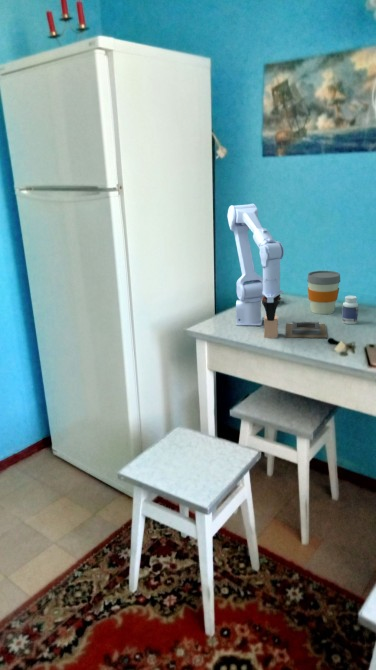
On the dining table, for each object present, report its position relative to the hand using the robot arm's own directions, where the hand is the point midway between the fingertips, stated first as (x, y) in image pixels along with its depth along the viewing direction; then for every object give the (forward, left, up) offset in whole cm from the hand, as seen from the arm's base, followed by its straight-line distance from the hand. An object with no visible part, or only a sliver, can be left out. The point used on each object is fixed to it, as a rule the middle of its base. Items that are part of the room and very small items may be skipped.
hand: (271, 317), depth 168 cm
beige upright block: (0, 0, -7) cm, 7 cm away
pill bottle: (+28, +16, -7) cm, 33 cm away
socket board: (+12, +5, -7) cm, 15 cm away
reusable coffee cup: (+19, +30, -7) cm, 36 cm away
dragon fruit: (-2, +40, -7) cm, 41 cm away
